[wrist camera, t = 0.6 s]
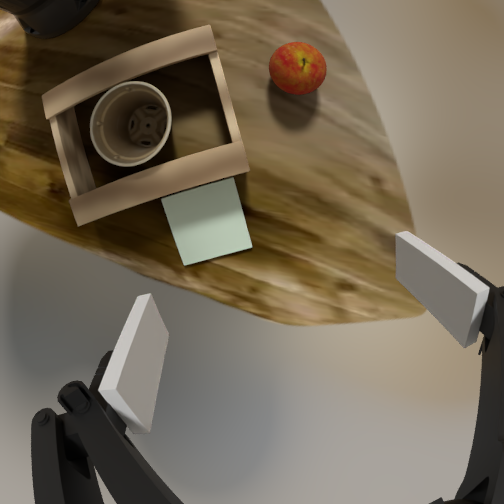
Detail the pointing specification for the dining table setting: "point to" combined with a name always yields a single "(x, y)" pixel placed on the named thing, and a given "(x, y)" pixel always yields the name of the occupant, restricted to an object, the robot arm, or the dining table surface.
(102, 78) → the crate
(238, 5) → the dining table surface
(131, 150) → the flower pot
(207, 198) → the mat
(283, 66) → the fruit
